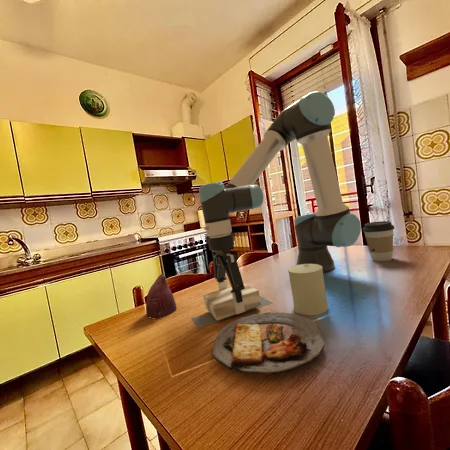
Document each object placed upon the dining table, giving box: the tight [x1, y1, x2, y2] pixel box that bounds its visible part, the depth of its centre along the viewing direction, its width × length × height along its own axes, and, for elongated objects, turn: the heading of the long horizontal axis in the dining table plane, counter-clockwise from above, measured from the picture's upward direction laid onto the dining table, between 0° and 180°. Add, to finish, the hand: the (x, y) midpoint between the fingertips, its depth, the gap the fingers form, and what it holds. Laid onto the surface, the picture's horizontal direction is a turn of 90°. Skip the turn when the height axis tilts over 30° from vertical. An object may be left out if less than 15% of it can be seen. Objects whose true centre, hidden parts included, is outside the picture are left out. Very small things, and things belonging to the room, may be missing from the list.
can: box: [287, 264, 329, 316], centre depth 71 cm, size 9×9×12 cm
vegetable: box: [145, 272, 178, 319], centre depth 87 cm, size 10×10×15 cm
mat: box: [190, 295, 273, 329], centre depth 78 cm, size 8×24×1 cm, turn 111°
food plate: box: [212, 311, 325, 375], centre depth 58 cm, size 25×23×4 cm
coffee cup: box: [362, 220, 395, 262], centre depth 105 cm, size 11×11×15 cm
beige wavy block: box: [202, 282, 261, 320], centre depth 78 cm, size 10×14×4 cm
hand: (232, 306), depth 79 cm, fingers closed on beige wavy block, 10 cm apart
